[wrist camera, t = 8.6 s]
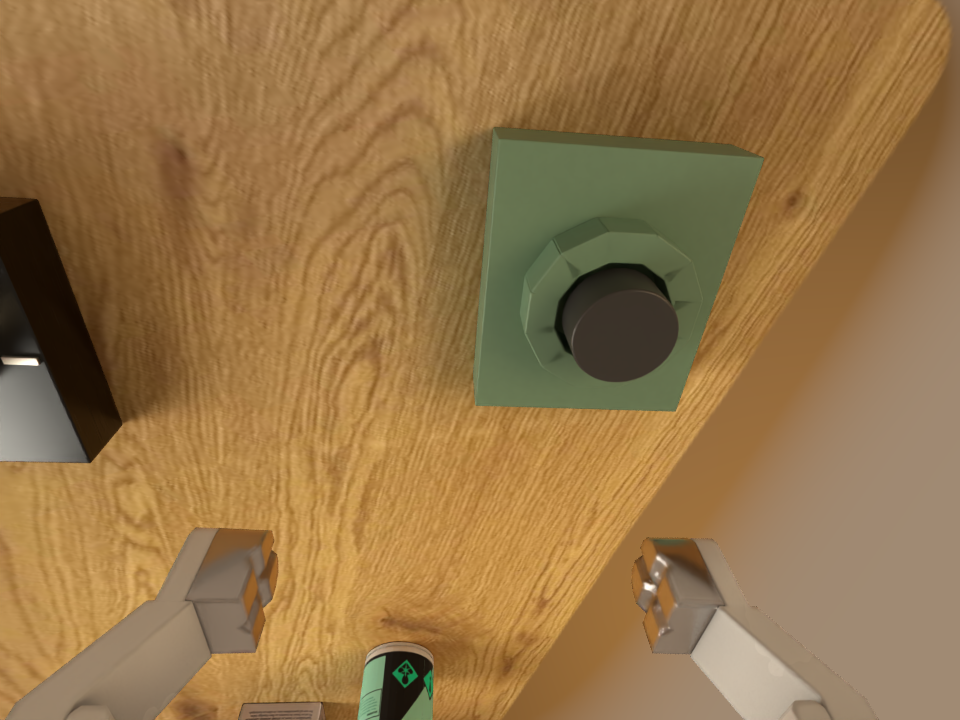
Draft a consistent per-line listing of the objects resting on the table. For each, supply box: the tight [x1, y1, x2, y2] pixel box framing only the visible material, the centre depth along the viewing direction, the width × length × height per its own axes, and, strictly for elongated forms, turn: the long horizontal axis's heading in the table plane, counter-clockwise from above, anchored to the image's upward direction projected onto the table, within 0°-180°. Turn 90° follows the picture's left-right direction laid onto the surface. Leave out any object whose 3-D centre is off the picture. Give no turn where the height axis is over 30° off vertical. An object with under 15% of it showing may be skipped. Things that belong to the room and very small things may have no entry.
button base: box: [473, 127, 764, 411], centre depth 22 cm, size 12×10×4 cm
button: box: [562, 268, 679, 382], centre depth 20 cm, size 4×4×2 cm
